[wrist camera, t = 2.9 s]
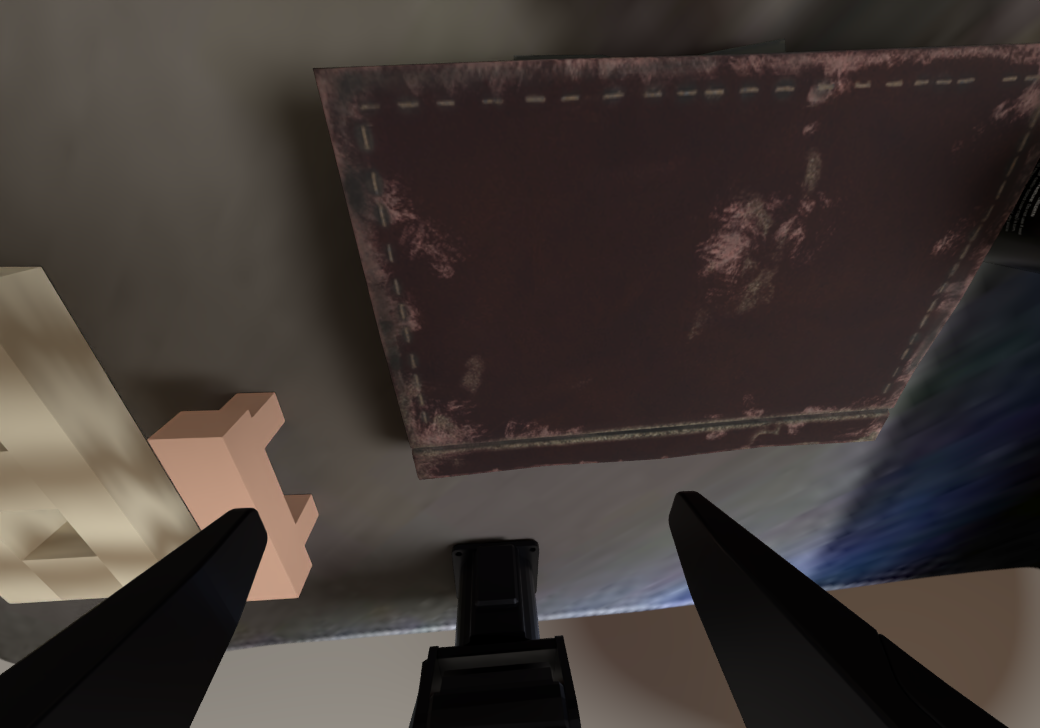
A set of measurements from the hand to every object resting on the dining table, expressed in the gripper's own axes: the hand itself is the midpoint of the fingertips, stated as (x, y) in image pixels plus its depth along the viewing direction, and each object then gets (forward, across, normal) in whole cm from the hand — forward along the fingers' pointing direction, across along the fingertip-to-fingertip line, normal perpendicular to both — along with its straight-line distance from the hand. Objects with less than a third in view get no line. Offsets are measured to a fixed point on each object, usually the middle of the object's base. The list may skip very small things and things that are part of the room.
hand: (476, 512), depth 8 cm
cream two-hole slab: (+13, +24, +8) cm, 29 cm away
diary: (+14, -8, -1) cm, 16 cm away
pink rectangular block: (+13, +12, +10) cm, 21 cm away
